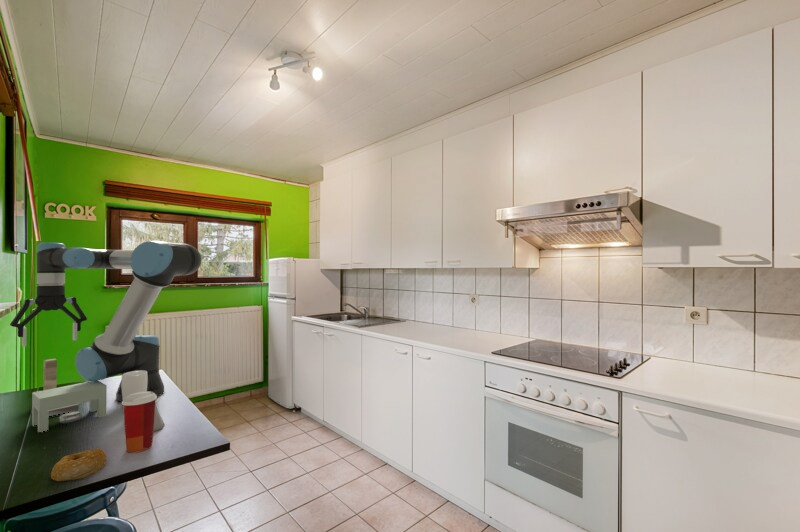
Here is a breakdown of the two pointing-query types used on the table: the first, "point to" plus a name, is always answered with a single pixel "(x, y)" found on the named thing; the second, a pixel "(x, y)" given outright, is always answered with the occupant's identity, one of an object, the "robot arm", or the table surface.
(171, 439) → the table surface
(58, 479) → the bagel
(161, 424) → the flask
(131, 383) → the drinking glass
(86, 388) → the white bridge stand
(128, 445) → the paper cup
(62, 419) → the steel disc
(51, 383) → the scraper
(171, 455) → the table surface
